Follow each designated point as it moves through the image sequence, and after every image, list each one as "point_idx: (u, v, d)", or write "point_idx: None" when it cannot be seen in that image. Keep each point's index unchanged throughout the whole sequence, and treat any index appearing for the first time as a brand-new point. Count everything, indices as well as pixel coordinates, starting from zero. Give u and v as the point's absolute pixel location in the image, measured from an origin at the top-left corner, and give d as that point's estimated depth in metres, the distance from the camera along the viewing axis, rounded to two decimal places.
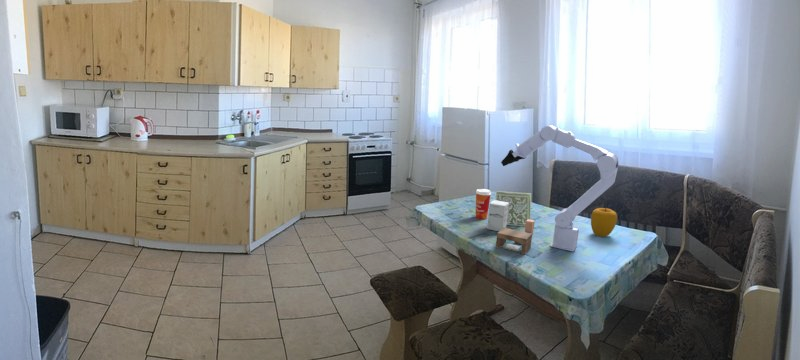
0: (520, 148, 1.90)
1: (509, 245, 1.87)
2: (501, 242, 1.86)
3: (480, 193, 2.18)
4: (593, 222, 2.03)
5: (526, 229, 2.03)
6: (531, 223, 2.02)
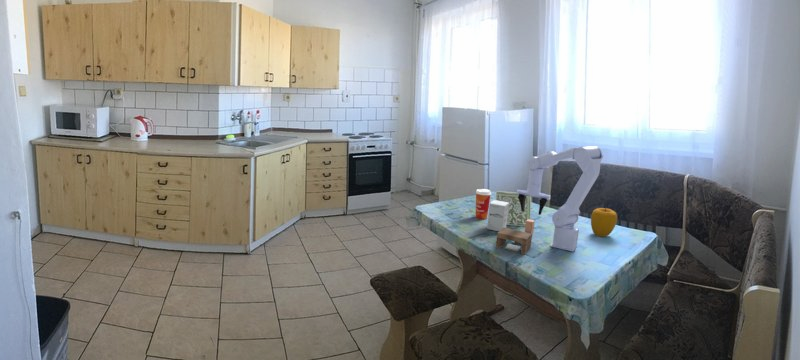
0: None
1: (509, 245, 1.87)
2: (501, 242, 1.86)
3: (480, 193, 2.18)
4: (593, 222, 2.03)
5: (526, 229, 2.03)
6: (531, 223, 2.02)
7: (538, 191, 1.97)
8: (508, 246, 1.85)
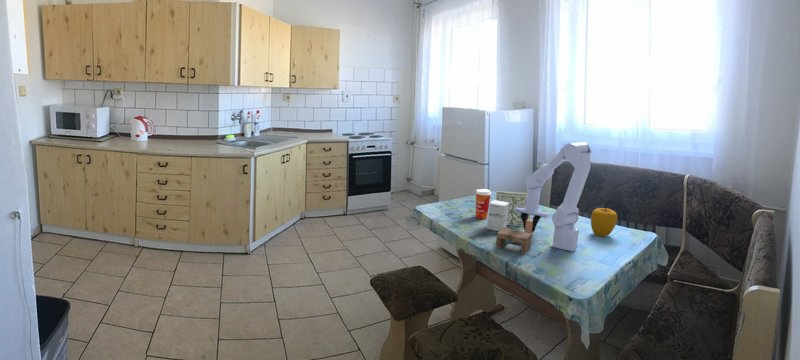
0: None
1: (509, 245, 1.87)
2: (501, 242, 1.86)
3: (480, 193, 2.18)
4: (593, 222, 2.03)
5: (526, 229, 2.03)
6: (531, 223, 2.02)
7: (536, 209, 1.99)
8: (508, 246, 1.85)
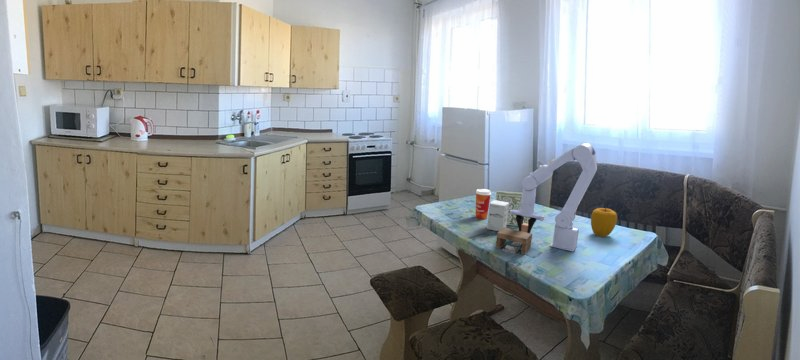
0: None
1: (507, 246, 1.84)
2: (501, 242, 1.86)
3: (480, 193, 2.18)
4: (593, 222, 2.03)
5: None
6: (527, 227, 1.96)
7: (531, 211, 1.93)
8: (506, 247, 1.83)
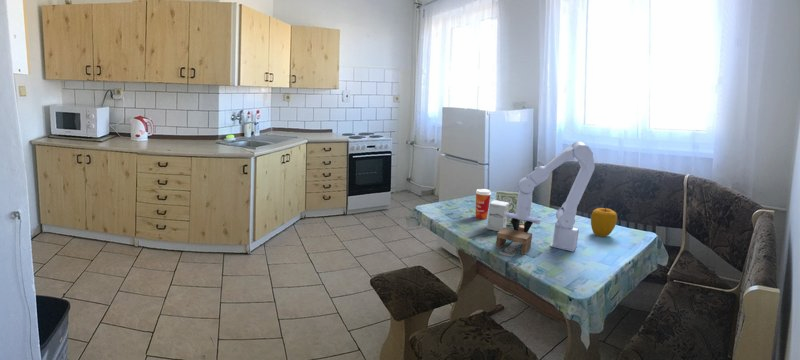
0: None
1: (504, 249, 1.81)
2: (501, 242, 1.86)
3: (480, 193, 2.18)
4: (593, 222, 2.03)
5: None
6: None
7: (527, 215, 1.88)
8: (503, 251, 1.80)
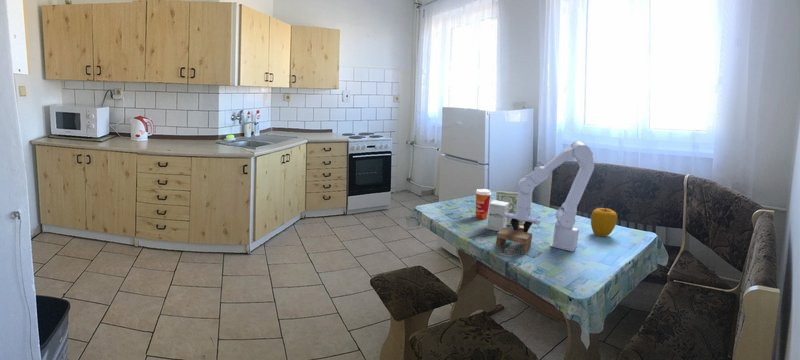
0: None
1: (503, 250, 1.81)
2: (501, 242, 1.86)
3: (480, 193, 2.18)
4: (593, 222, 2.03)
5: None
6: None
7: (527, 215, 1.88)
8: (502, 251, 1.79)
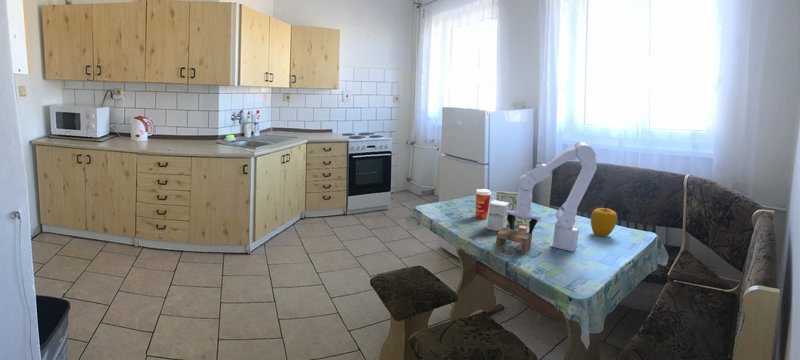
0: None
1: (503, 250, 1.81)
2: (501, 242, 1.86)
3: (480, 193, 2.18)
4: (593, 222, 2.03)
5: None
6: (524, 230, 1.92)
7: (528, 212, 1.88)
8: (502, 251, 1.79)
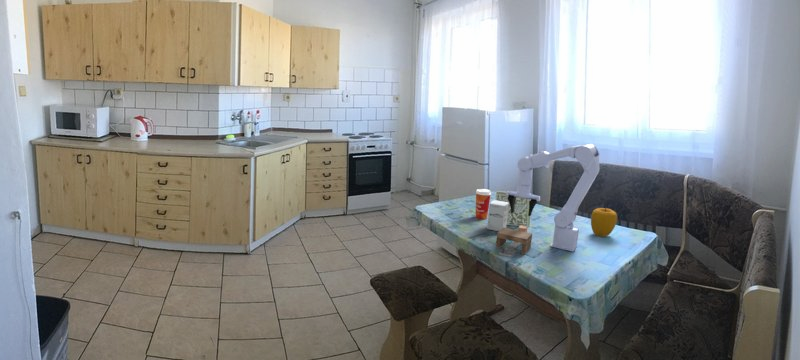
0: None
1: (503, 250, 1.81)
2: (501, 242, 1.86)
3: (480, 193, 2.18)
4: (593, 222, 2.03)
5: None
6: (524, 230, 1.92)
7: (528, 192, 1.94)
8: (502, 251, 1.79)
